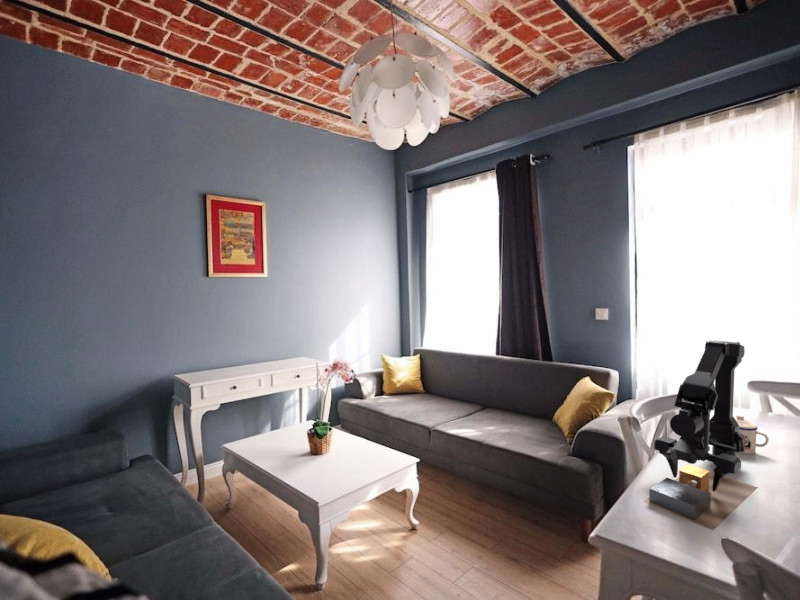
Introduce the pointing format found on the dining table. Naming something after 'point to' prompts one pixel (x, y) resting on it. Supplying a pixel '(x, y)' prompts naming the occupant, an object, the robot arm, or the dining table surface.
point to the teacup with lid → (749, 435)
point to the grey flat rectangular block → (680, 498)
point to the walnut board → (719, 501)
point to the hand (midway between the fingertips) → (694, 483)
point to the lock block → (695, 476)
